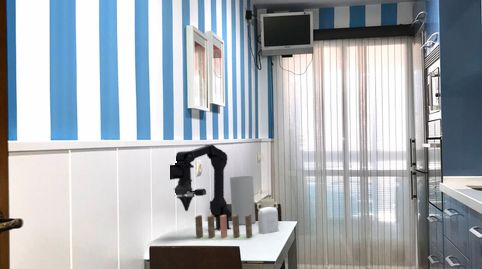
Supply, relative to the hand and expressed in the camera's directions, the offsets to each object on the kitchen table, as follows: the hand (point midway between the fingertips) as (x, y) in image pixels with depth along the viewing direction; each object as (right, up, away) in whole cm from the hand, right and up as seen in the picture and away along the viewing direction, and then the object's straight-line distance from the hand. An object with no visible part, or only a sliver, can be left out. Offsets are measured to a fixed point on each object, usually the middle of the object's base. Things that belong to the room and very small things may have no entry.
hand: (186, 210), depth 240 cm
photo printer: (+39, -11, +3) cm, 41 cm away
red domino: (+18, -12, -5) cm, 22 cm away
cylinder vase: (+27, -12, +35) cm, 46 cm away
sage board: (+18, -12, -5) cm, 22 cm away
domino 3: (+24, -11, -6) cm, 27 cm away
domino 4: (+30, -11, -8) cm, 32 cm away
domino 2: (+12, -12, -3) cm, 17 cm away
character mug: (+40, -11, +27) cm, 50 cm away
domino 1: (+6, -12, -2) cm, 14 cm away
